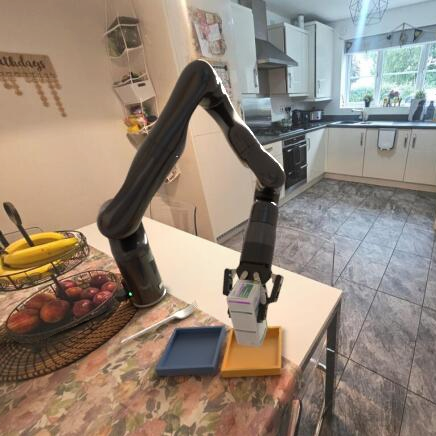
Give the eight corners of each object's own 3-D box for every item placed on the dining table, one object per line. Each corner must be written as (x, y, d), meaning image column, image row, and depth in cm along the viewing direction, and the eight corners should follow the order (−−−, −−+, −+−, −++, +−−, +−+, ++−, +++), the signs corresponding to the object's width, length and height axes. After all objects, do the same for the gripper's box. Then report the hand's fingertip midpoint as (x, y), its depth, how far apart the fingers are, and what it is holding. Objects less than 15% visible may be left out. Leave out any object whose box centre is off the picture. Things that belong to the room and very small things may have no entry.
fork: (121, 340, 64) (118, 335, 64) (196, 303, 75) (195, 299, 74) (122, 349, 62) (119, 344, 61) (200, 310, 73) (198, 305, 72)
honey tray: (222, 377, 55) (220, 371, 54) (232, 334, 65) (230, 328, 64) (281, 374, 55) (280, 368, 54) (281, 332, 65) (281, 325, 64)
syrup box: (260, 348, 54) (253, 300, 48) (236, 344, 55) (225, 297, 49) (268, 327, 59) (262, 281, 53) (245, 324, 60) (236, 278, 54)
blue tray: (157, 376, 55) (154, 369, 54) (177, 333, 66) (175, 327, 64) (215, 373, 56) (213, 366, 54) (226, 331, 66) (224, 325, 65)
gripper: (291, 250, 59) (281, 324, 54) (237, 244, 63) (223, 314, 58) (284, 243, 52) (272, 327, 47) (224, 237, 56) (206, 316, 51)
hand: (245, 319), depth 53 cm, fingers closed on syrup box, 6 cm apart
